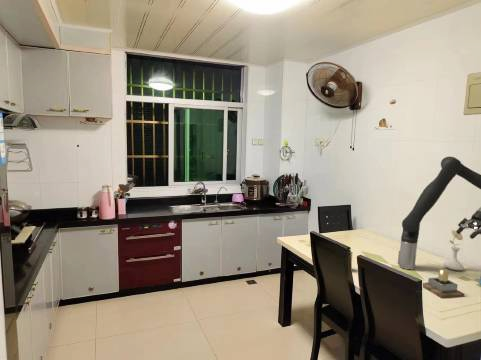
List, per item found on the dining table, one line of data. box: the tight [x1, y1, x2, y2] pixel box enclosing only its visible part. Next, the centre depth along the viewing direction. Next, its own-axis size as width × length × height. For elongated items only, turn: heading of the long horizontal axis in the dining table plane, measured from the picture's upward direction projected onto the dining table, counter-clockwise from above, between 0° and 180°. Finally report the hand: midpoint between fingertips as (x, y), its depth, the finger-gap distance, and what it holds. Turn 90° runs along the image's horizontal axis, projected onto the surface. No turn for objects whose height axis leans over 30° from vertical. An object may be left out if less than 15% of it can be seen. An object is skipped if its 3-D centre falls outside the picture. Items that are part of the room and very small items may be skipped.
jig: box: [422, 276, 465, 299], centre depth 174 cm, size 14×14×6 cm
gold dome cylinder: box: [438, 268, 450, 284], centre depth 174 cm, size 4×4×10 cm
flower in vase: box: [442, 228, 465, 271], centre depth 206 cm, size 13×11×25 cm
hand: (464, 235), depth 180 cm, fingers open, 8 cm apart
